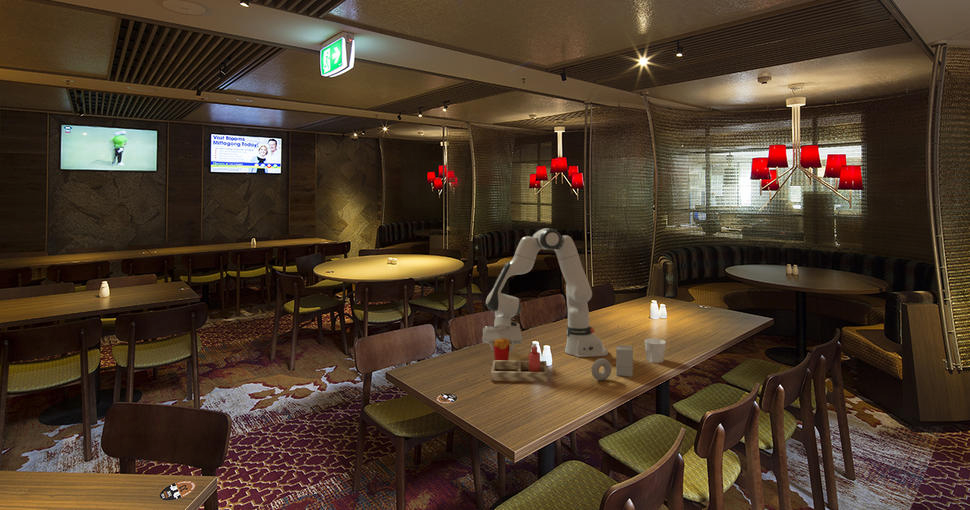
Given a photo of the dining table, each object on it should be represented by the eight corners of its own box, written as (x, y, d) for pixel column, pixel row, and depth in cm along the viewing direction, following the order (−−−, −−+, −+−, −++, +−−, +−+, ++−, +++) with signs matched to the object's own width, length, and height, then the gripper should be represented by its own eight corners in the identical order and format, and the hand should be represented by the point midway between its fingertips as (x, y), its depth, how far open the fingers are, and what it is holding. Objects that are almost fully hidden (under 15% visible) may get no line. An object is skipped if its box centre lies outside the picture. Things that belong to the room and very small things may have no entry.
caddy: (546, 369, 229) (546, 361, 228) (547, 381, 212) (547, 373, 212) (493, 368, 231) (493, 360, 230) (490, 380, 215) (490, 372, 214)
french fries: (495, 364, 236) (495, 341, 235) (492, 362, 240) (492, 339, 238) (511, 362, 239) (511, 339, 238) (508, 360, 243) (508, 337, 241)
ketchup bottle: (539, 374, 221) (539, 342, 220) (540, 378, 216) (540, 345, 215) (528, 374, 222) (528, 342, 220) (528, 378, 217) (528, 345, 215)
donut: (608, 377, 217) (608, 356, 216) (612, 379, 213) (613, 358, 212) (589, 380, 213) (589, 358, 212) (593, 383, 210) (594, 361, 209)
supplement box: (632, 371, 224) (633, 345, 222) (632, 377, 217) (632, 350, 215) (616, 370, 226) (617, 344, 225) (615, 375, 219) (616, 348, 218)
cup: (655, 364, 233) (655, 345, 232) (639, 359, 241) (640, 340, 240) (669, 361, 237) (670, 342, 236) (654, 355, 246) (654, 337, 245)
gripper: (482, 323, 245) (480, 347, 236) (521, 323, 243) (521, 347, 235) (483, 329, 250) (481, 352, 241) (522, 329, 248) (521, 353, 239)
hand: (501, 350), depth 238 cm, fingers open, 8 cm apart
